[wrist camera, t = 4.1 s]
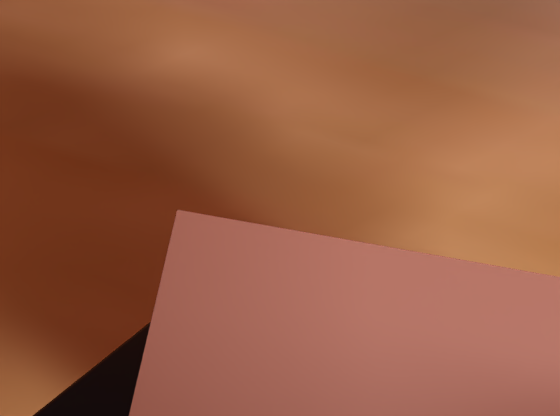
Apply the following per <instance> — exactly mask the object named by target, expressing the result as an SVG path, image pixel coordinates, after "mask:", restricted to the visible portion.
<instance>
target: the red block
mask: <svg viewBox="0 0 560 416" xmlns="http://www.w3.org/2000/svg"><path fill="white" fill-rule="evenodd" d="M129 416H560V277H556V276H551V275H545V274H539V273H534V272H528V271H522V270H517V269H511V268H505V267H500V266H494V265H488V264H483V263H477V262H471V261H466V260H460V259H454V258H449V257H443V256H437V255H432V254H426V253H420V252H415V251H409V250H403V249H398V248H392V247H386V246H381V245H375V244H369V243H364V242H358V241H352V240H347V239H341V238H335V237H330V236H324V235H318V234H313V233H307V232H301V231H296V230H290V229H284V228H279V227H273V226H267V225H262V224H256V223H250V222H245V221H239V220H233V219H227V218H222V217H216V216H210V215H205V214H199V213H193V212H188V211H182V210H177V213H176V217H175V221H174V226H173V230H172V234H171V238H170V243H169V247H168V251H167V255H166V260H165V264H164V268H163V272H162V277H161V281H160V285H159V289H158V294H157V298H156V302H155V306H154V311H153V315H152V319H151V323H150V328H149V332H148V336H147V340H146V345H145V349H144V353H143V358H142V362H141V366H140V370H139V375H138V379H137V383H136V387H135V392H134V396H133V400H132V404H131V409H130V413H129Z"/></svg>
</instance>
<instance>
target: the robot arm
mask: <svg viewBox="0 0 560 416" xmlns="http://www.w3.org/2000/svg"><path fill="white" fill-rule="evenodd" d="M150 323H151V322H150ZM150 323H149V324H147V325H146V326H145V327H144V328H142V329H141V330H140V331H139V332H137V333H136V334H135V335H134V336H132V337H131V338H130V339H128V340H127V341H126V342H125V343H123V344H122V345H121V346H120V347H118V348H117V349H116V350H115V351H113V352H112V353H111V354H110V355H108V356H107V357H106V358H105V359H103V360H102V361H101V362H100V363H98V364H97V365H96V366H95V367H93V368H92V369H91V370H90V371H88V372H87V373H86V374H85V375H83V376H82V377H81V378H79V379H78V380H77V381H76V382H74V383H73V384H72V385H71V386H69V387H68V388H67V389H66V390H64V391H63V392H62V393H61V394H59V395H58V396H57V397H56V398H54V399H53V400H52V401H51V402H49V403H48V404H47V405H46V406H44V407H43V408H42V409H41V410H39V411H38V412H37V413H36V414H34V415H33V416H129V413H130V409H131V404H132V400H133V396H134V392H135V387H136V383H137V379H138V375H139V370H140V366H141V362H142V358H143V353H144V349H145V345H146V340H147V336H148V332H149V328H150Z"/></svg>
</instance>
